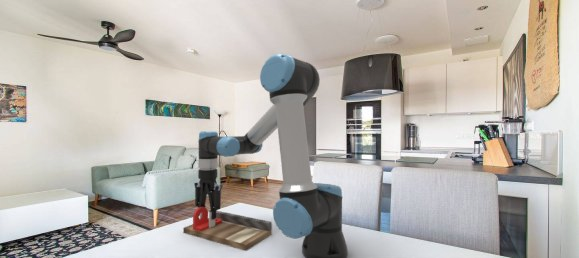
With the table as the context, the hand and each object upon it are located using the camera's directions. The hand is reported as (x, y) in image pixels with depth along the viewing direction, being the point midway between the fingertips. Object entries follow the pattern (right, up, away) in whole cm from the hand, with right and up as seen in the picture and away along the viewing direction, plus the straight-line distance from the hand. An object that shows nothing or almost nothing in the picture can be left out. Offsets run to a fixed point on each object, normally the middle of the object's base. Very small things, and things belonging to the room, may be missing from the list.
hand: (207, 225), depth 106 cm
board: (+9, -2, -3) cm, 10 cm away
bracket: (0, 0, +1) cm, 1 cm away
